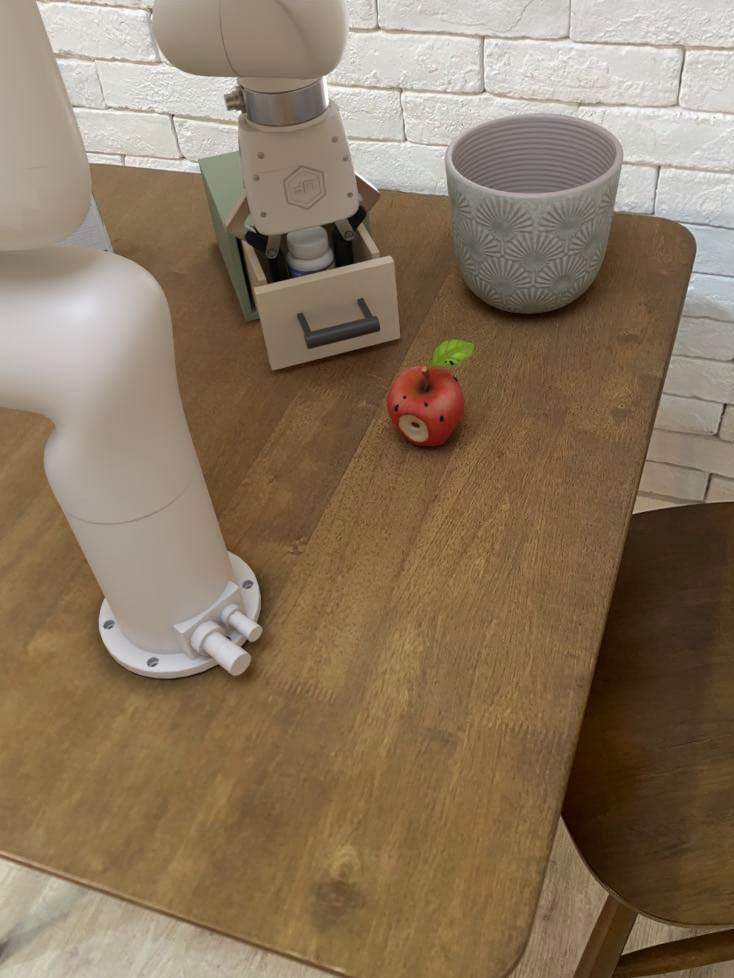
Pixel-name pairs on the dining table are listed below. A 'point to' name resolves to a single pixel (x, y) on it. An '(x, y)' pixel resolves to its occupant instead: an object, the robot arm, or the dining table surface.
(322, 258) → the pill bottle
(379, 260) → the drawer
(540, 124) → the planter
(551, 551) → the dining table surface
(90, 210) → the syrup box
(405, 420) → the apple
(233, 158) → the cabinet
